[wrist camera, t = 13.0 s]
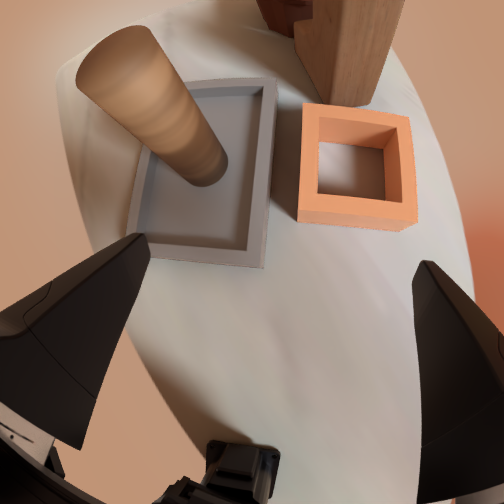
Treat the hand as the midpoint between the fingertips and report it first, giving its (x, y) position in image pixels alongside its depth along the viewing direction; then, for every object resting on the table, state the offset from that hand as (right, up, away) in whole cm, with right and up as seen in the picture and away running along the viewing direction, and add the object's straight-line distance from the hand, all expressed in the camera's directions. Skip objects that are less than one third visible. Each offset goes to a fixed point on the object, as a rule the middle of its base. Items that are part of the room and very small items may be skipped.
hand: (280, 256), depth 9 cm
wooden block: (+7, +17, +15) cm, 24 cm away
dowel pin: (-5, +7, +14) cm, 17 cm away
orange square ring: (+7, +6, +13) cm, 16 cm away
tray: (-5, +7, +15) cm, 17 cm away
